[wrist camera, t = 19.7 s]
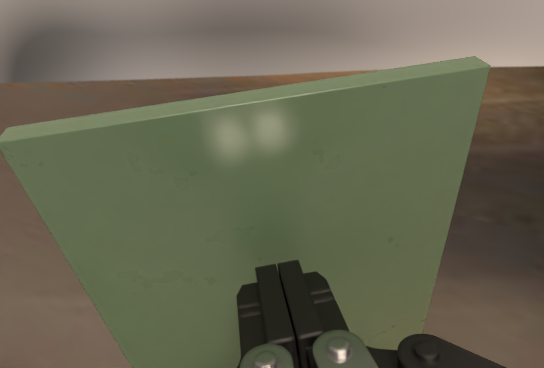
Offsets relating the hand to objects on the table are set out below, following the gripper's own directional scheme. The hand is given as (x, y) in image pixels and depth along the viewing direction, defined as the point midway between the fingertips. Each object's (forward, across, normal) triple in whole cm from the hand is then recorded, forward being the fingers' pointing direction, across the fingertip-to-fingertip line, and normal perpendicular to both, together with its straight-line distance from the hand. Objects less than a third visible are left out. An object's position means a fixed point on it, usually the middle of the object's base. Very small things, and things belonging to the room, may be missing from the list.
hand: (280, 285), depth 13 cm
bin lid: (+2, 0, 0) cm, 2 cm away
